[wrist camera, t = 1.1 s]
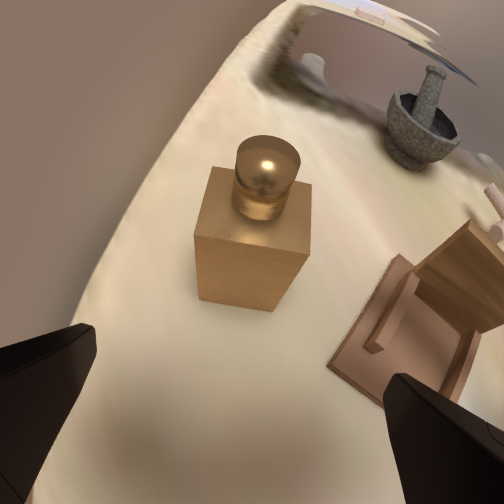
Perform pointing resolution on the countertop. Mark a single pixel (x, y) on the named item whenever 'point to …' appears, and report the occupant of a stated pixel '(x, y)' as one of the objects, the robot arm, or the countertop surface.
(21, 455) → the robot arm
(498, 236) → the pipe connector
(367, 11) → the soap
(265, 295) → the bronze perfume bottle
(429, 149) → the mortar and pestle
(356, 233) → the countertop surface
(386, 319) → the bronze stepped stand
